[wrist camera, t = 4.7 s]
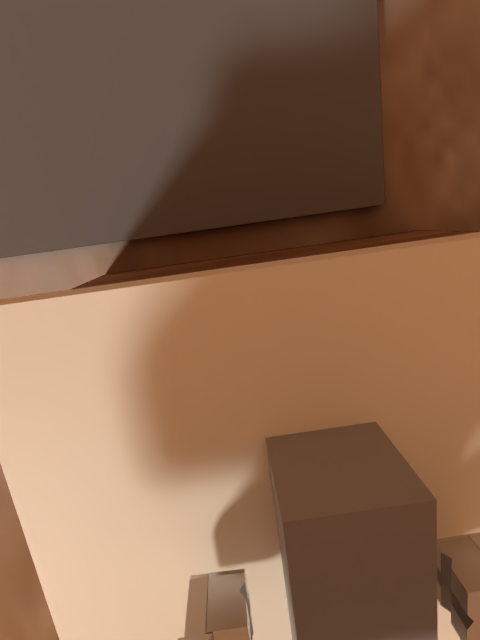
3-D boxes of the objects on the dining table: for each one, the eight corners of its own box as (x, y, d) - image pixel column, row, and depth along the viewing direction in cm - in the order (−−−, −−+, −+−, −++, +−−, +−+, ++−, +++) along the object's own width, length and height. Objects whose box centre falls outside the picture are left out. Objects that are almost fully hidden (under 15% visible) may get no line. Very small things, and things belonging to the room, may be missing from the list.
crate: (104, 274, 19) (5, 317, 10) (420, 230, 19) (585, 235, 10) (163, 537, 23) (127, 728, 14) (425, 498, 23) (547, 664, 14)
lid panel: (6, 294, 11) (-179, 354, 6) (566, 215, 12) (853, 207, 6) (125, 700, 16) (76, 942, 10) (534, 638, 16) (689, 845, 11)
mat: (-157, -263, 14) (-174, -284, 13) (357, -328, 14) (363, -352, 14) (-4, 258, 19) (-12, 259, 18) (380, 204, 19) (385, 204, 18)
